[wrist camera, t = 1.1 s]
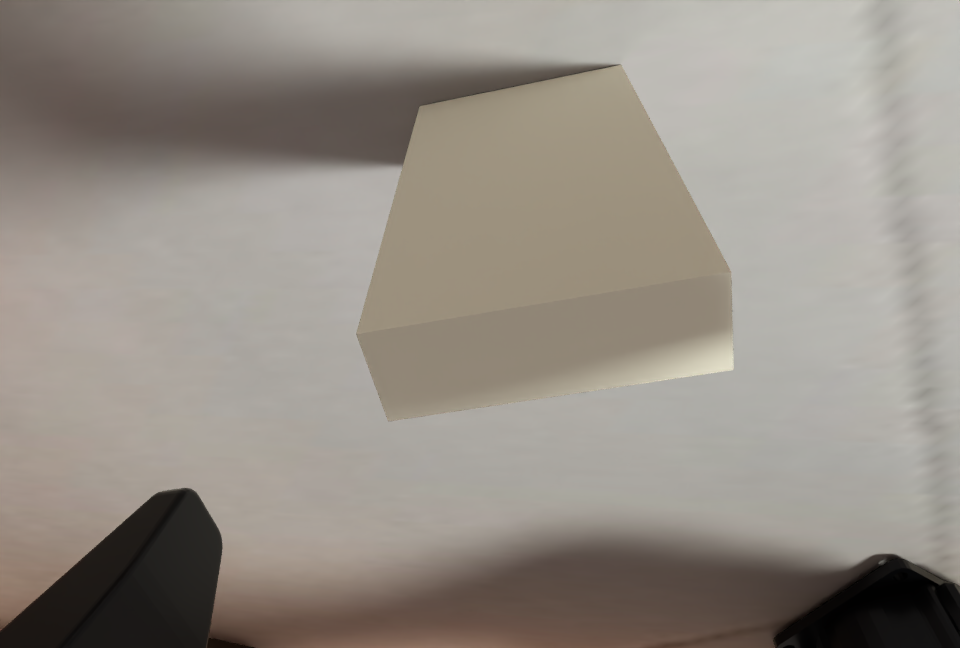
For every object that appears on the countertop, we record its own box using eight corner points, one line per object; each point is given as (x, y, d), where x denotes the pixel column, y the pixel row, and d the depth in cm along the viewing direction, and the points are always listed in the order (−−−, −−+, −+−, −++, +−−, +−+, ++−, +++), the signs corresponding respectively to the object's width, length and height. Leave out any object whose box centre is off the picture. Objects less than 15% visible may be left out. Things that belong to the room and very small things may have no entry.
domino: (627, 128, 19) (733, 369, 10) (435, 166, 19) (388, 421, 11) (621, 65, 18) (730, 271, 9) (419, 106, 18) (356, 333, 10)
